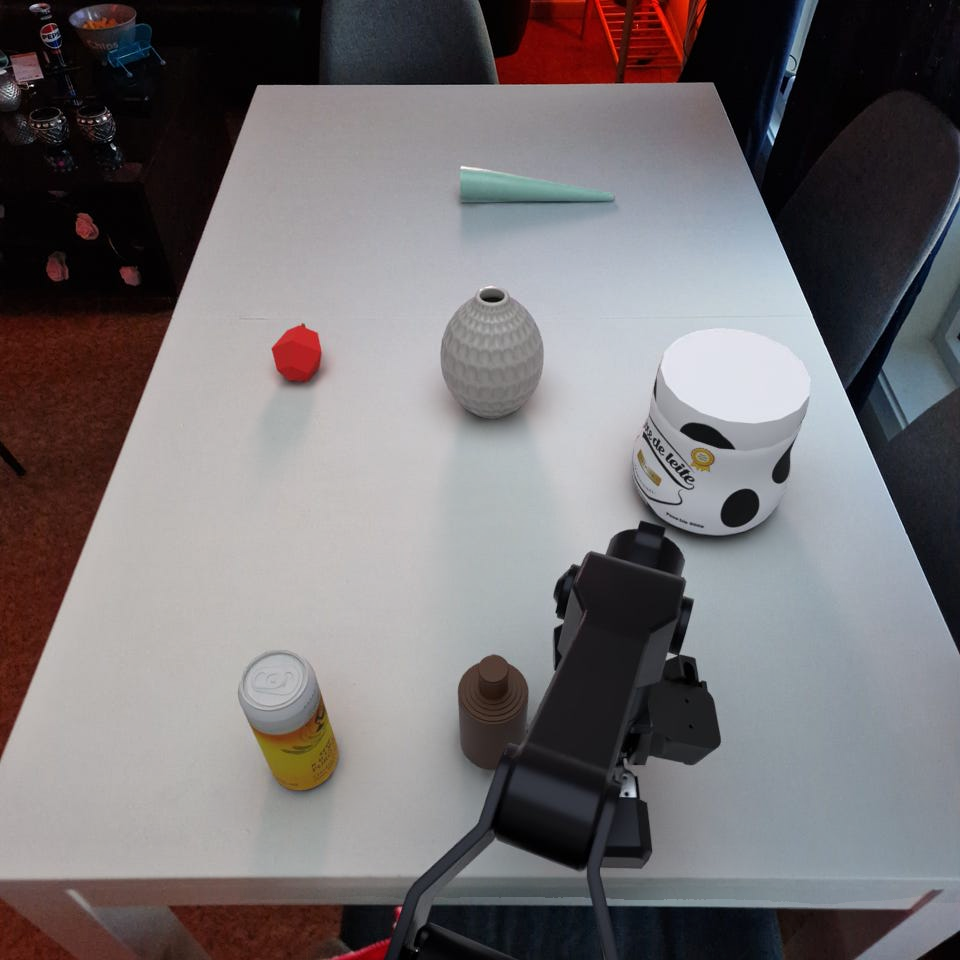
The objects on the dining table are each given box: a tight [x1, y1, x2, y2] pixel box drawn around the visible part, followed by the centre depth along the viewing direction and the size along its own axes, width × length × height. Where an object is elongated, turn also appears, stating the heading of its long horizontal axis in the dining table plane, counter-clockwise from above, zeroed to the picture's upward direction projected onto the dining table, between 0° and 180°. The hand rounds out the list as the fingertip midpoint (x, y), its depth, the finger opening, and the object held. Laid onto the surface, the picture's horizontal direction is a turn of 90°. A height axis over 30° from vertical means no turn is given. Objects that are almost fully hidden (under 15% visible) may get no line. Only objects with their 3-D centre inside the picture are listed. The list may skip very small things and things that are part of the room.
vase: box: [439, 285, 545, 419], centre depth 102 cm, size 13×13×17 cm
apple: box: [271, 322, 323, 383], centre depth 110 cm, size 7×7×8 cm
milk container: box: [631, 327, 811, 537], centre depth 90 cm, size 17×17×18 cm
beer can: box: [237, 648, 339, 791], centre depth 69 cm, size 6×6×15 cm
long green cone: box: [459, 165, 616, 203], centre depth 141 cm, size 5×6×27 cm
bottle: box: [457, 653, 530, 771], centre depth 71 cm, size 6×6×13 cm
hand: (587, 779), depth 69 cm, fingers closed on cap, 4 cm apart
